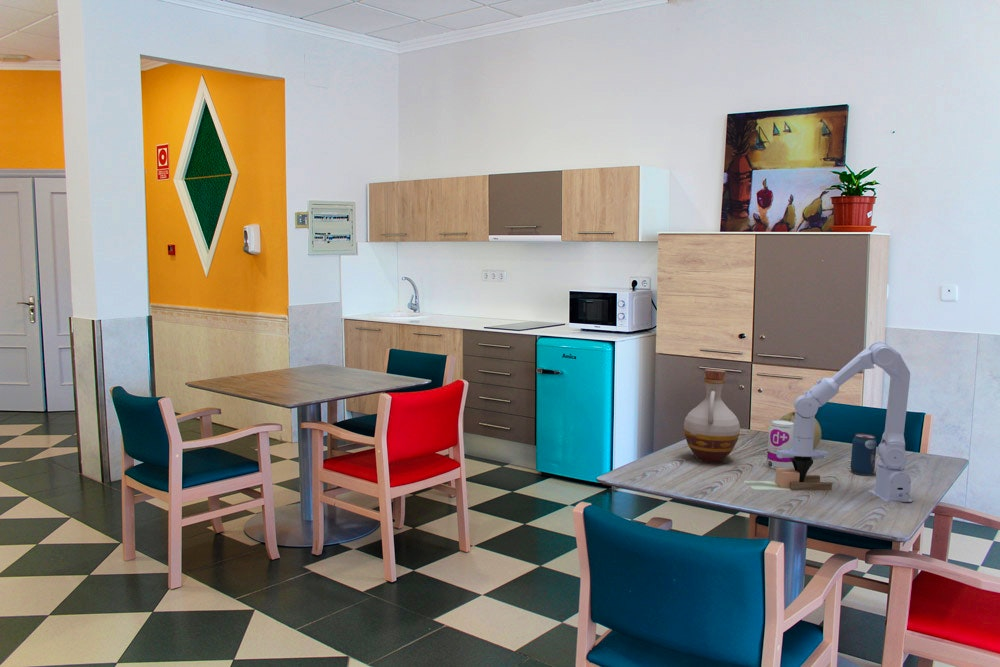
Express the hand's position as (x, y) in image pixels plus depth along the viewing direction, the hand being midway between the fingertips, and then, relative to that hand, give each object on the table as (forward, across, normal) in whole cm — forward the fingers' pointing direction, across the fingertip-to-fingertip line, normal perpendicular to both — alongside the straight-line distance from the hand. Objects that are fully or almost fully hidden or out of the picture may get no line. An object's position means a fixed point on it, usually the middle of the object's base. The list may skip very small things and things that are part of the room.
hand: (800, 481), depth 236 cm
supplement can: (+2, -3, -20) cm, 20 cm away
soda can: (+2, -28, -16) cm, 32 cm away
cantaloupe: (+2, -16, -39) cm, 42 cm away
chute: (+2, +4, 0) cm, 4 cm away
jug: (+2, +18, -29) cm, 34 cm away
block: (+1, +4, 0) cm, 4 cm away
